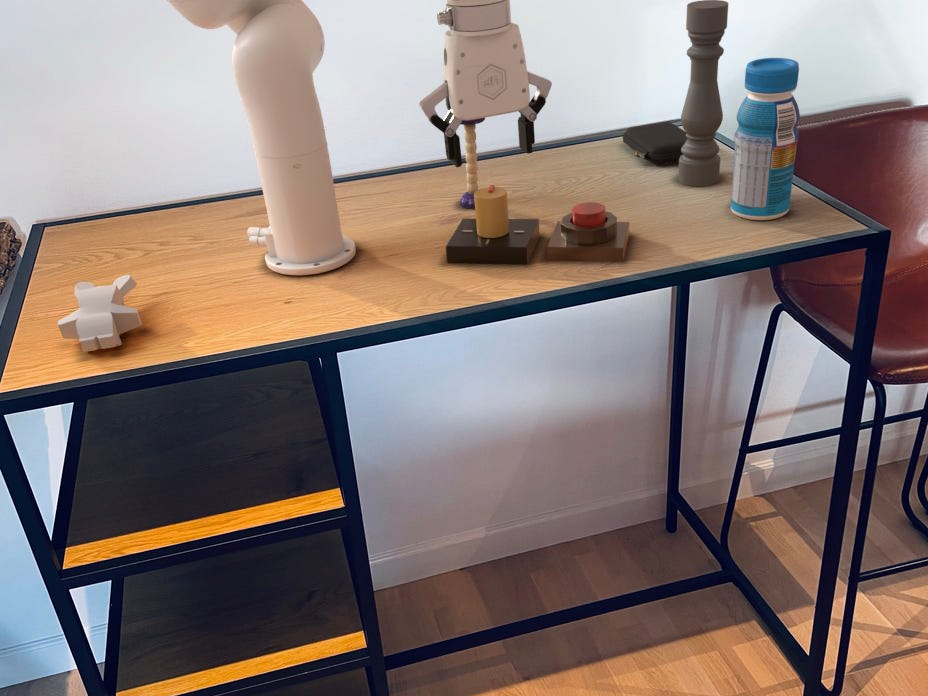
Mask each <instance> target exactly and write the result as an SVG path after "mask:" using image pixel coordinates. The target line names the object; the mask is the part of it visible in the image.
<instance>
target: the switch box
mask: <svg viewBox="0 0 928 696" xmlns="http://www.w3.org/2000/svg"><path fill="white" fill-rule="evenodd" d="M629 239H630V221H618V217H617V216H616V215H615V214H613V213H612V212H610V211H606V210H605V223H604V224H602V225H600V226H595V227H580V226H576V225H573V223H572V212H570V213H568V214H566V215H564V216H563V217H562V219H561V221H560V220H558V221H556V224H555V227H554V229H553V231H552V233H551V237H550V239H549V242H548V244H547V245H546V246H547V247H546V252H547V261H548V262H595V263H596V262H601V263H604V262H605V263H623V262H624V259H625V254H626V250H627V246H628V242H629Z"/></svg>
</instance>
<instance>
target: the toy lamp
mask: <svg viewBox="0 0 928 696" xmlns="http://www.w3.org/2000/svg"><path fill="white" fill-rule="evenodd" d="M485 120H486V118H480V119H474V120H462V122H461V124H460V126H463V129H464V131H465V132H464V140H465V145H464V147H465V148H464V149H465V151H466V153H465V161H466V164H465V170H466V172H467V173H466V181H467V185H466V190H467V191H466V192H464V193H463V194H462V196H461V198H460V200H459V205H460V206H461V207H462V208H465V209H475V200H474V193H475V192H476V191H477V190H479V183H478V180H479V175H478V168H479V166H478V163H477V161H478V153H477V149H478V145H477V141H476V140H477V133H476V129H477V128H476V127H477V125H478V124H482V123H483V122H484V121H485Z"/></svg>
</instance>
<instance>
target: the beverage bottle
mask: <svg viewBox="0 0 928 696" xmlns="http://www.w3.org/2000/svg"><path fill="white" fill-rule="evenodd" d="M799 66H800V65H799V62H798V61H797V60H794V59H791V58H786V57H785V58H784V57H764V58H757V59H754V60H750V61H749V62H748V63H747V64H746V68H745V74H744V75H745V76H744V90H745V92H747V93H748V94H747V95H746V96H745V98H744V99H743V101H742V102H741V104H740V106H739V108H738V111H737V113H736V121H737V124H738V126H737V127H736V129H735V131H734V137H733V142H734V149H733V150H734V151H733V168H732V183H731V184H732V185H731V196H730V197H731V198H730V204H729V205H730V210H731V212H732V213H733V214H734V215H735V216H737V217H740V218H743V219H746V220H751V221H768V220H775V219H779V218H781V217H783V216H785V215H786V214H788V212H789V211H790V208H791V198H792V197H791V196H792V188H793V178H794V170H795V160H796V152H797V144H798V142H799V133H800V132H799V130H798V127H797V124H798V122H799V121H800V119H801V113H800V108H799V105H798V102H797V100H796V99H795V97H794V95H793V92H795V91H796V90H797V87H798V83H799V72H800V67H799Z"/></svg>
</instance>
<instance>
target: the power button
mask: <svg viewBox="0 0 928 696" xmlns="http://www.w3.org/2000/svg"><path fill="white" fill-rule="evenodd" d="M605 211H606V206H605V205H604V204H603V203H600V202H594V201H593V202H590V201H588V202H581V203H577V204H575V205H574V206H572V209H571V213H572V223H573V225H576V226H580V227H595V226H600V225H602V224H604V223H605Z"/></svg>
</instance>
